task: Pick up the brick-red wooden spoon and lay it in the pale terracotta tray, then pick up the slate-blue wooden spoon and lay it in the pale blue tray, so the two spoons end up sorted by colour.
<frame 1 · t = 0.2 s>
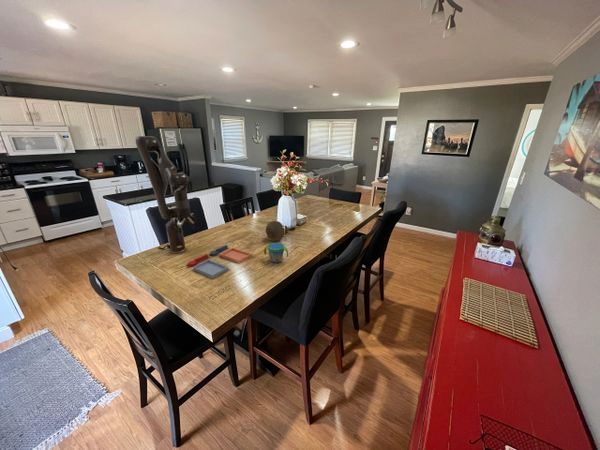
hand: (186, 231, 151), 17 cm above the table, tool pointing down, fingers open, 8 cm apart
snack cup: (276, 260, 152), on the table
red spoon: (197, 262, 148), on the table
red tray: (236, 256, 156), on the table
blue tray: (210, 269, 140), on the table
brown ball: (275, 240, 181), on the table
blue spoon: (218, 252, 162), on the table
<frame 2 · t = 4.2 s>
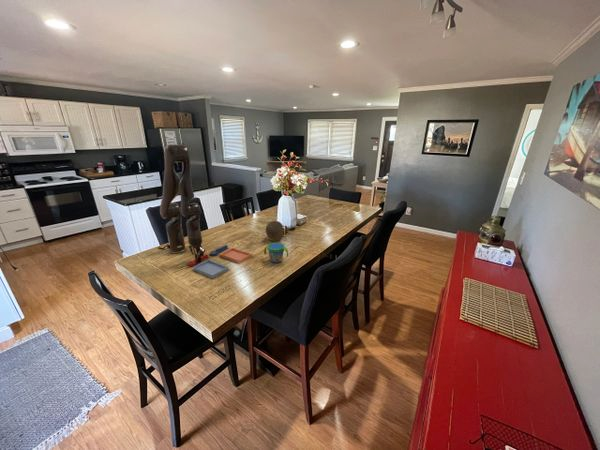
hand: (198, 261, 149), 0 cm above the table, tool pointing down, fingers closed on red spoon
red spoon: (197, 262, 148), on the table, touching gripper
everything else where it was.
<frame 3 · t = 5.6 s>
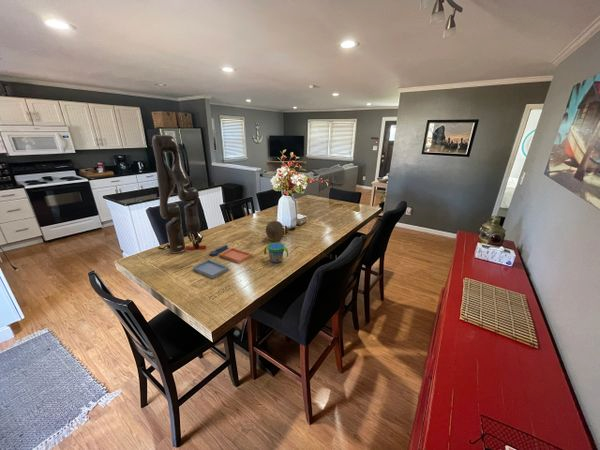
hand: (196, 248, 146), 9 cm above the table, tool pointing down, fingers closed on red spoon
red spoon: (194, 249, 145), point 9 cm above the table, tilted 21°, touching gripper
everything else where it was.
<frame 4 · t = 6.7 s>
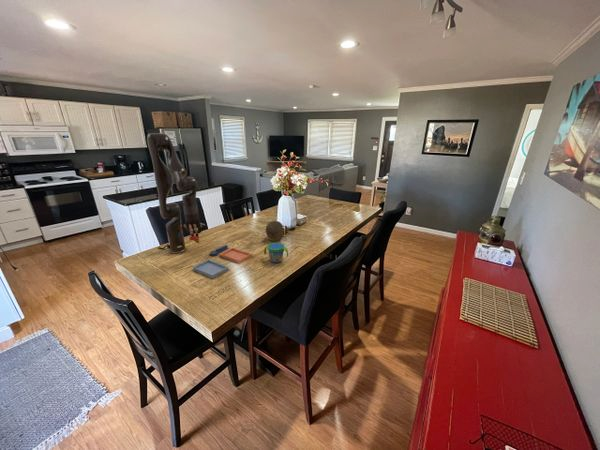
hand: (195, 239, 144), 15 cm above the table, tool pointing down, fingers closed on red spoon
red spoon: (195, 240, 143), point 15 cm above the table, tilted 35°, touching gripper
everything else where it was.
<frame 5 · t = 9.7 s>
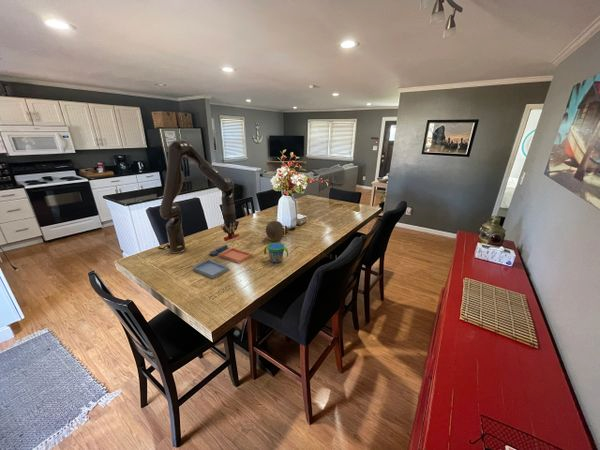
hand: (231, 237, 151), 13 cm above the table, tool pointing down, fingers closed on red spoon
red spoon: (232, 238, 151), point 13 cm above the table, tilted 27°, touching gripper
everything else where it was.
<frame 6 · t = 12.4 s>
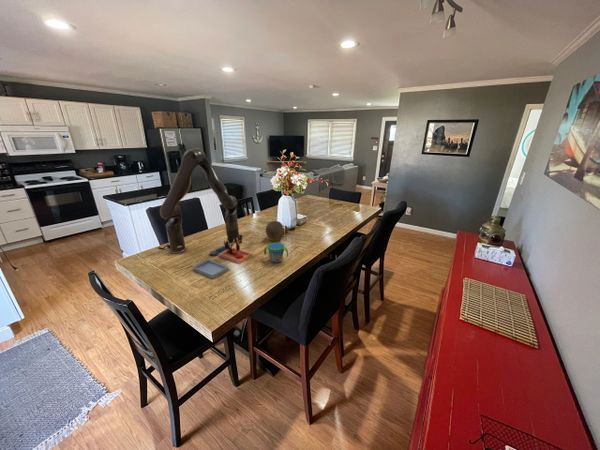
hand: (234, 252, 156), 3 cm above the table, tool pointing down, fingers open, 5 cm apart
red spoon: (235, 255, 156), resting on red tray
everything else where it was.
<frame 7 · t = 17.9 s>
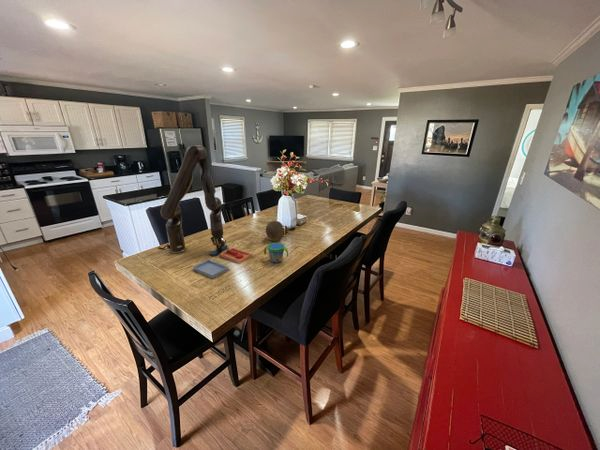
hand: (219, 251, 162), 0 cm above the table, tool pointing down, fingers closed on blue spoon
blue spoon: (218, 252, 162), on the table, touching gripper
everything else where it was.
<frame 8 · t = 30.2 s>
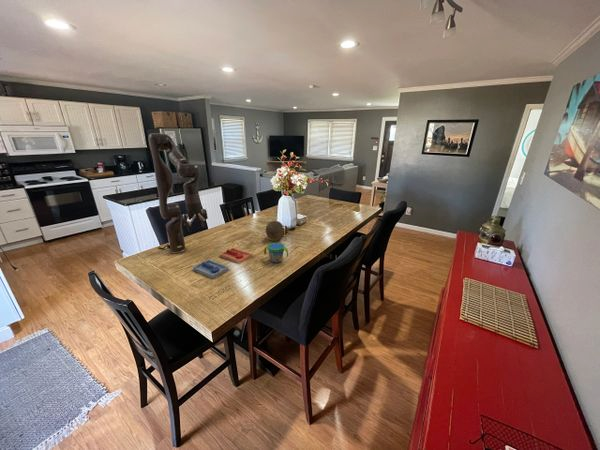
hand: (197, 229, 135), 24 cm above the table, tool pointing down, fingers open, 8 cm apart
blue spoon: (211, 269, 140), resting on blue tray
everything else where it was.
at the end: red spoon inside the target area on the red tray (0.2 cm from its centre), point 0.5 cm above the red tray's base; blue spoon inside the target area on the blue tray (0.5 cm from its centre), point 0.5 cm above the blue tray's base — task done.
